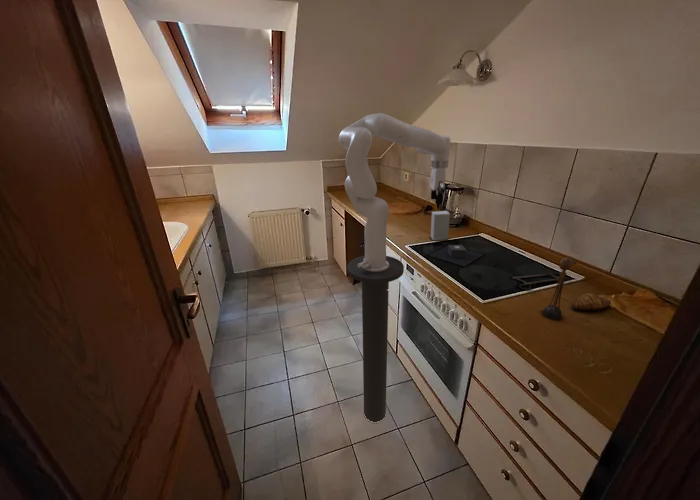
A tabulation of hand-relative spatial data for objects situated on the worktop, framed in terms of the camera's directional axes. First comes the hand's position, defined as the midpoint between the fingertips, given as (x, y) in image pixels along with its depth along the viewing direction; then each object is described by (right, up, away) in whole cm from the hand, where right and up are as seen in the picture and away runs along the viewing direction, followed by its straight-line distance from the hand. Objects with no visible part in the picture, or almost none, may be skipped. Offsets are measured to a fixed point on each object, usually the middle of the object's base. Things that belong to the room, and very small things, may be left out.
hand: (436, 201), depth 142 cm
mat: (+9, -26, -2) cm, 27 cm away
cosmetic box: (+7, -17, +19) cm, 27 cm away
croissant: (+38, -42, -44) cm, 72 cm away
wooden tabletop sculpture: (+23, -44, -47) cm, 69 cm away
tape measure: (+9, -25, -2) cm, 27 cm away
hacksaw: (+34, -36, -27) cm, 56 cm away
